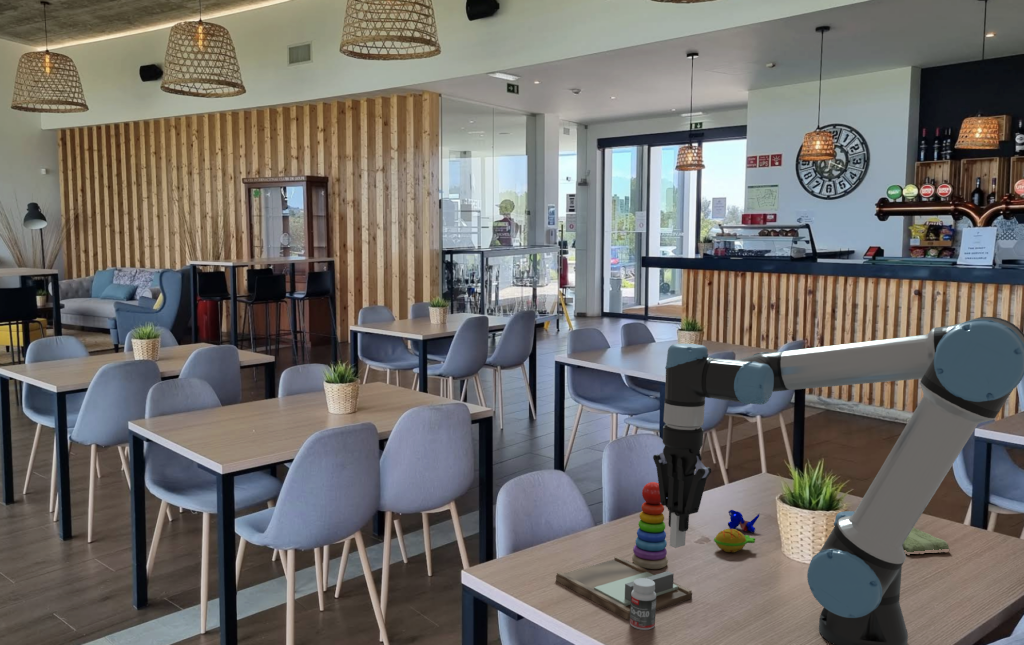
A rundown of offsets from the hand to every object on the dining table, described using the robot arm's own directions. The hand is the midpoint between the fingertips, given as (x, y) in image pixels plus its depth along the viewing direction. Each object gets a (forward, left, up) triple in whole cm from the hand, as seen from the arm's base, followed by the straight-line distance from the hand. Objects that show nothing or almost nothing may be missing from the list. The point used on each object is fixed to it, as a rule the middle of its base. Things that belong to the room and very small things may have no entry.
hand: (677, 545), depth 157 cm
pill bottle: (+1, +8, -14) cm, 16 cm away
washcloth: (-2, -79, -15) cm, 81 cm away
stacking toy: (+22, -15, -14) cm, 30 cm away
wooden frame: (+15, 0, -14) cm, 20 cm away
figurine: (+25, -52, -14) cm, 60 cm away
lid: (+11, 0, -13) cm, 17 cm away
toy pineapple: (+17, -38, -14) cm, 44 cm away
